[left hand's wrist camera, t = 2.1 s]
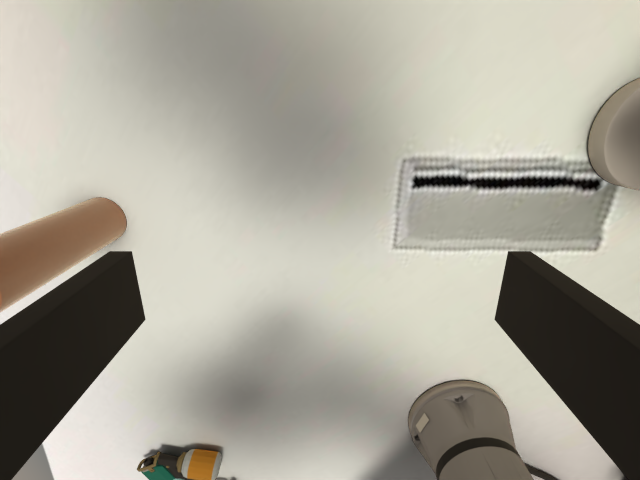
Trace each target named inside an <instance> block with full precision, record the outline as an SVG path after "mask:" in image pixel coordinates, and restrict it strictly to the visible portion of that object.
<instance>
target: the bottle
mask: <svg viewBox="0 0 640 480" xmlns="http://www.w3.org/2000/svg"><path fill="white" fill-rule="evenodd" d="M125 229H126V217H125V214H124V212H123V211H122V209H121V208H120V207H119V206H118V205H117V204H116V203H114V202H113V201H111V200H109V199H106V198H99V197H98V198H92V199H89V200H87V201H84V202H82V203H79V204H76V205H74V206H71V207H69V208H66V209H63V210H61V211H58V212H56V213H53V214H50V215H48V216H45V217H43V218H40V219H38V220H35V221H32V222H30V223H27V224H25V225H22V226H19V227H17V228H14V229H12V230H9V231H6V232H4V233H1V234H0V312H2V311H4V310H5V309H7V308H8V307H10V306H12V305H13V304H15V303H16V302H18V301H19V300H21V299H23V298H24V297H26V296H27V295H29V294H31V293H32V292H34V291H35V290H37V289H38V288H40V287H42V286H43V285H45V284H46V283H48V282H50V281H51V280H53V279H54V278H56V277H57V276H59V275H61V274H62V273H64V272H65V271H67V270H69V269H70V268H72V267H73V266H75V265H76V264H78V263H80V262H81V261H83V260H84V259H86V258H88V257H89V256H91V255H92V254H94V253H95V252H97V251H99V250H100V249H102V248H103V247H105V246H107V245H108V244H110V243H111V242H113V241H114V240H116V239H118V238H119V237H121V236H122V235H123V233H124V232H125Z"/></svg>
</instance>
